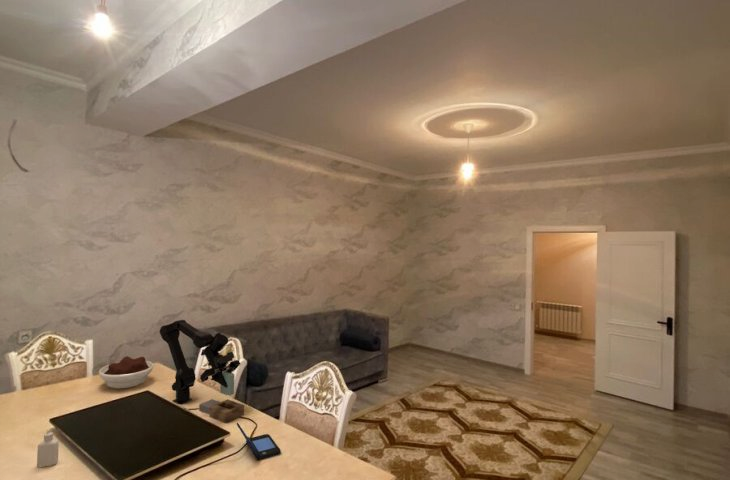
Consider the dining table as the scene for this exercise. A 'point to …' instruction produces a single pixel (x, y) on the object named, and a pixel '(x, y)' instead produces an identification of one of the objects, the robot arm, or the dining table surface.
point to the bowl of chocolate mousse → (126, 372)
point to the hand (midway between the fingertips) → (229, 386)
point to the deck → (207, 406)
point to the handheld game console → (261, 445)
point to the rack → (226, 411)
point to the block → (228, 383)
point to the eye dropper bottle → (47, 450)
